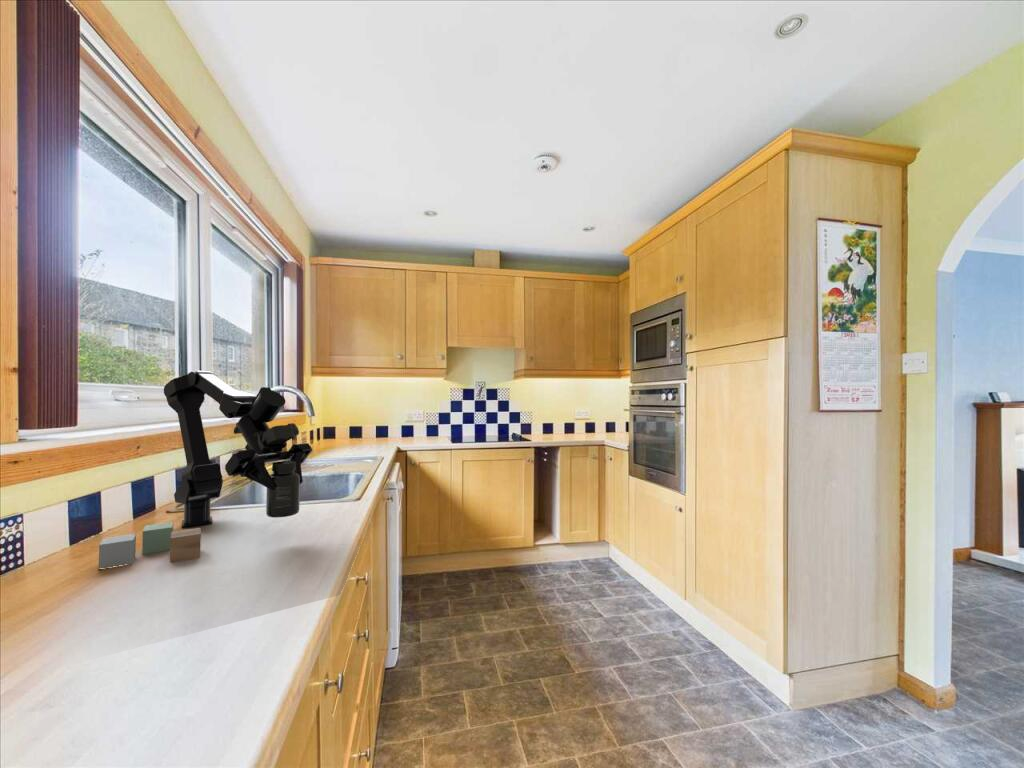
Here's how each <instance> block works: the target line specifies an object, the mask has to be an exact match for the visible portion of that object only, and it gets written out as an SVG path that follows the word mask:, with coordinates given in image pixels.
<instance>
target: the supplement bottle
mask: <svg viewBox="0 0 1024 768" xmlns="http://www.w3.org/2000/svg"><path fill="white" fill-rule="evenodd" d="M271 463H272V464H271V465H272V466H271V471H272V473H271V474H269V475H270V476H271V478H272V480H273V482H274V484H275V489H274V490H270V489H268V488H267V487H266V499H265V500H266V503H265V505H266V506H265V507H266V508H265V510H266V516H267V517H268V518H287V517H292V516H295V515H297V514H298V513H299V512H300V505H301V503H300V502H301V501H300V500H301V499H300V498H301V497H300V496H301V494H300V493H301V491H300V490H301V484H300V476H299V474H298V473H296V472H294V471H295V469H296V467H295V465H296V462H295V461H284V460H282V461H275V462H271Z"/></svg>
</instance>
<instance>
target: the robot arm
mask: <svg viewBox="0 0 1024 768" xmlns="http://www.w3.org/2000/svg"><path fill="white" fill-rule="evenodd" d="M163 395H164V396H165V398H166V402H167V405H168V406H169V407H170V408H171V409H172V410H173V411H175V412H176V414H177V418H178V423H179V429H180V433H181V438H182V440H181V441H182V445H183V450H184V456H185V460H186V467H185V468H184V470H183V472H182V474H181V483H180V485H178V487H177V489H176V491H175V493H174V494H173V497H174V498H173V499H174V502H175V503H178V504H183V519H182V520H181V528H189V527H197V526H204V525H210V524H213V516H212V515H211V512H212V511H211V510H212V509H211V507H212V505H211V504H212V503H211V502H212V499H215V498H220V497H221V493H222V488H223V483H224V481H223V475H222V471H221V465H220V464H219V462H217V463H214V462H213V461H212V460H211V459H210V456H209V450H208V445H207V441H206V436H205V435H206V434H205V430H204V425H203V421H202V415H201V407H202V406H203V403H204V401H205V398H206V397H205V395H207V396H208V397H210V398H211V399H212V400H214V401H215V402H216V403H218V404H219V407H218V409H219V411H220V412H221V413H222V414H223V415H224V417H225V418H227V419H239V420H238V422H236V424H235V427H234V429H233V434H235V435H239V434H242V437H243V438H244V441H245V442H246V445H245V446H244V449H239V450H235V451H234V452H233V453H232V455H231V456H230V458H229V459H228V461H227V462H226V464H225V467H224V470H225V472H226V473H227V475H228V477H233V476H240V477H245V478H248V479H250V480H252V481H254V482H256V483H257V484H260V485H262V486H263V487H265V488H266V489H267V488H268V489H270V490H274V489H275V484H274V482H273V480H272V478H271V476H270V475H271V474H270V473H269V471H268V469H267V468H266V464H267V463H274V462H279V461H295V462H296V465H295V467H296V469H295V471H294V472H296V473H298V474H299V476H300V485H301V484H302V483H303V482H304V481H303V474H302V473H303V472H302V464H303V463H304V462H305V460H306V459H307V458H308V457H309V455H310V454H311V453H312V451H313V447H311V444H309V442H307V443H306V442H303V443H302V442H301V443H293V444H292V445H291V446H290V448H289V450H284V451H283V449H284V448H286V447H287V445H288V443H287V442H288V441H290V440H293V439H295V437H297V436H298V435H299V433H300V430H299V427H298V426H297V425H296V424H295V422H294V423H293V422H291V423H290V422H289V423H287V424H284V425H283V424H282V425H275V426H271V427H269V425H268V423H270V422H273V421H274V420H275V419H276V416H277V415H279V412H280V411H281V410H282V409H283V407H284V406H285V404H286V399H285V396H284V395H281V394H280V393H279V392H277V391H274V390H272V389H271V387H270V386H266V387H265V386H261V387H260V389H259V391H258V393H257V395H255V394H253V393H249V392H245V391H242V390H236V389H235V388H234V387H232V386H231V385H229V384H227V383H226V382H225V381H223V380H221V379H220V378H219V377H217V376H216V374H215V373H214V372H211V371H209V370H207V371H206V370H194V371H193V370H192V371H190V372H188V373H187V374H184V375H181V376H178V377H175V378H173V379H171V380H170V381H168V383H166V384H165V385H164V387H163Z"/></svg>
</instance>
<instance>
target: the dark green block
mask: <svg viewBox="0 0 1024 768" xmlns="http://www.w3.org/2000/svg"><path fill="white" fill-rule="evenodd" d="M172 532H174V521H170V522H161V523H153V524H147V525H144V527H143V530H142V543H141V544H142V548H141V554H142V555H147V554H154V553H155V554H156V553H159V552H167V551H170V541H171V533H172ZM166 550H167V551H166Z"/></svg>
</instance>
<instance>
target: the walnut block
mask: <svg viewBox="0 0 1024 768" xmlns="http://www.w3.org/2000/svg"><path fill="white" fill-rule="evenodd" d="M201 533H202V531H201V527H196V528H191V529H190V528H188V529H183V530H182V529H181V530H175V531H174V530H173V532H172V533H171V541H170V550H169V551H170V552H169V555H170V556H169V563H175V562H181V561H186V560H192V559H197V558H199V559H200V558H201V545H202V542H201V540H202V539H201V538H202V537H201V535H202V534H201Z"/></svg>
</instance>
